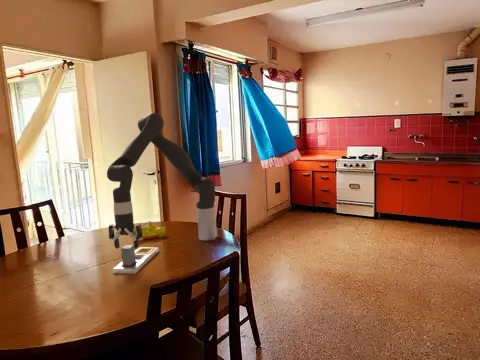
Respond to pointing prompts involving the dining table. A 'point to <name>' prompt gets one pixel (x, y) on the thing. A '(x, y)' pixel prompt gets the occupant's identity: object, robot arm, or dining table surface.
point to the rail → (140, 253)
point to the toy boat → (151, 231)
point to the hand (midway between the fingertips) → (126, 248)
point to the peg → (128, 256)
